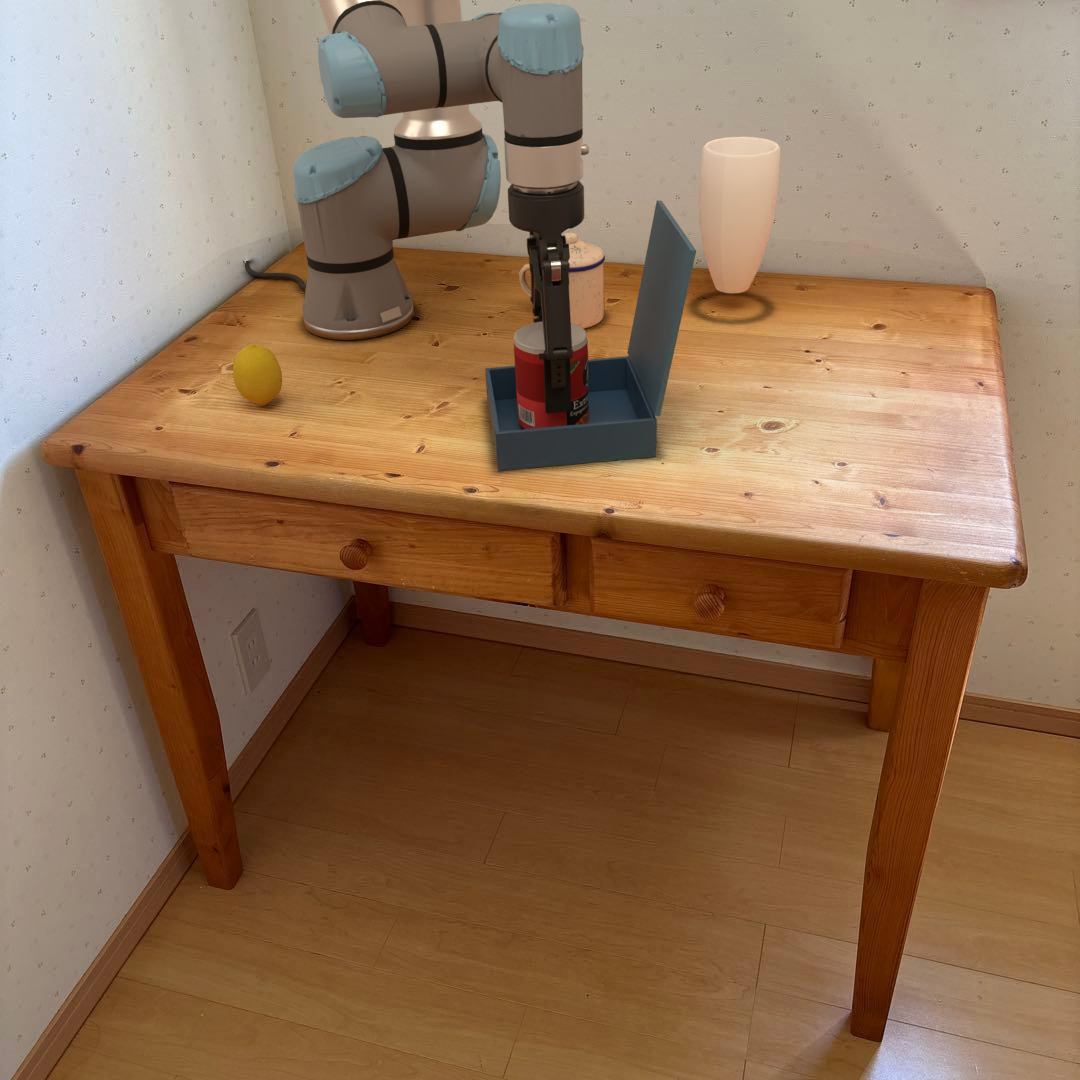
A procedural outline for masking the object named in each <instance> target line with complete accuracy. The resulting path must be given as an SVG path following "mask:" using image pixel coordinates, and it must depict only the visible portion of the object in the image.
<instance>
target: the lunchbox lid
mask: <svg viewBox="0 0 1080 1080" xmlns="http://www.w3.org/2000/svg"><path fill="white" fill-rule="evenodd" d="M696 254H697V249H696V248H695V246H694V245H693V243H692V242H691V240H690V239H689V238H688V236H687V235H686V233H685V232H684V230H683V229H682V228H681V226H680V225H679V223H678V222H677V220H676V219H675V218H674V216H673V215H672V213H671V211H670V210H669V209H668V207H667V206H666V204H665V203H664V202H663V200H659V199H658V200H656V203H655V207H654V213H653V218H652V223H651V229H650V234H649V238H648V244H647V248H646V254H645V259H644V264H643V269H642V275H641V279H640V285H639V289H638V295H637V300H636V305H635V310H634V316H633V321H632V325H631V332H630V337H629V342H628V347H627V356H629V358H630V360H631V363H632V365H633V367H634V369H635V372H636V374H637V376H638V379H639V381H640V383H641V386H642V388H643V390H644V393H645V395H646V397H647V400H648V402H649V404H650V407H651V409H652V411H653V413H654V416H656V417H661V413H662V409H663V408H662V407H663V405H664V400H665V396H666V395H665V394H666V392H667V391H666V390H667V386H668V381H669V377H670V372H671V368H672V363H673V358H674V354H675V349H676V345H677V340H678V336H679V331H680V328H681V327H680V326H681V322H682V318H683V315H684V314H683V313H684V308H685V304H686V300H687V296H688V290H689V286H690V283H691V277H692V274H693V273H692V272H693V267H694V264H695V259H696Z"/></svg>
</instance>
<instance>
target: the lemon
mask: <svg viewBox="0 0 1080 1080" xmlns="http://www.w3.org/2000/svg"><path fill="white" fill-rule="evenodd" d="M232 363H233V364H232V378H233V382H234V385H235V387H236V390H237V391H238V393H239V394H240V395H241V396H242V398H243V399H244V400H246V401H248V402H250V403H253V404H258V405H259V406H260V407H266V406H267V405H268V404H269V402H271V401H273V400H275V399H276V398H277V396H278V395H279V394H280V392H281V389H282V384H283V374H282V373H283V372H282V369H281V366H280V363H279V361H278V358H277V357H276V355H275V354H274V353H273V351H271V350H270V349H269V348H267V347H265V346H263V345H260V344H255V343H254V342H251V343H248V344H247V345H246V346H244V347H242V348H241V349H240V350H239V351H238V352H237V354H236V355H235V356H234V358H233V362H232Z"/></svg>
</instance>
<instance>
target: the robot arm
mask: <svg viewBox="0 0 1080 1080" xmlns="http://www.w3.org/2000/svg"><path fill="white" fill-rule="evenodd" d="M318 4H319V6H320V10H321V12H322V15H323V19H324V21H325V25H326V27H327V30H328V33H329V34H326V35H324V36H322V37H321V38H320V40H319V41H318V47H317V60H318V69H319V76H320V81H321V85H322V88H323V94H324V98H325V101H326V103H327V106H328V108H329V110H330V111H331V112H332V114H334V115H335V116H336V117H338V118H341V119H355V118H356V119H357V118H358V119H359V118H380V117H382V116H388V115H395V114H401V113H402V117H401V118H400V120H399V121H398V123H397V124H396V125H395V126H394V127H393V139H394V145H392V146H388V147H383V146H382V144H381V142H380V141H379V140H378V139H377V138H376V137H373V136H368V135H360V136H356V137H355V136H347V137H342V138H337V139H333V140H329V141H326V142H323V143H320V144H317V145H315V146H313V147H310V148H309V149H306V151H303V153H301V154H300V155H299V157H297V159H296V160H295V162H294V164H293V167H292V168H293V169H292V175H293V184H294V196H293V197H294V199H295V202H296V203H297V208H298V214H299V220H300V225H301V231H302V237H303V244H304V250H305V255H306V260H307V268H308V271H307V272H308V273H307V279H306V283H305V282H304V281H303V279H302V278H301V277H300V276H298V275H296V274H293V273H287V272H263V271H262V272H261V271H256V270H254V269H252V268H251V265H250V260H249V261H246V263H245V266H244V269H245V271H246V272H247V273H248V274H249V275H250V276H252V277H256V278H263V279H264V278H265V279H288V280H292V281H294V282H296V283H297V284H298V285H299V287H300V289H302V290H303V291H304V302H303V305H302V316H303V317H302V318H303V324H304V327H305V329H306V330H307V331H308V332H309V333H311V334H313V335H315V336H318V337H321V338H324V339H330V340H338V341H339V340H340V341H353V340H354V341H355V340H365V339H371V338H377V337H381V336H384V335H388V334H390V333H394V332H395V331H398V330H400V329H402V328H403V327H405V326H407V325H408V324H409V323H410V322H411V321H412V320H413V318H414V316H415V309H414V302H413V298H412V296H411V292H410V291H409V288H408V287H407V284H406V281H405V280H404V278H403V276H402V274H401V272H400V269H399V267H398V265H397V263H396V259H395V255H394V246H393V245H394V243H393V241H395V240H401V239H408V238H414V237H420V236H428V235H433V234H440V233H446V232H452V231H455V232H462V231H465V229H470V228H474V227H479V226H482V225H485V224H487V223H488V222H489V221H490V220H491V219H492V218H493V217H494V214H495V212H496V211H497V208H498V205H499V199H500V193H501V182H502V180H501V179H502V178H501V177H502V173H501V161H500V160H499V151H498V147H497V144H496V142H495V140H494V139H493V138H492V137H491V136H490V135H489V134H486V133H484V132H483V126H482V125H483V124H482V122H481V121H480V120H479V119H478V118H477V117H475V115H474V114H472V112H471V111H470V106H469V105H474V104H475V105H476V104H483V103H492V102H500V103H502V113H503V126H504V127H503V128H504V129H503V131H504V137H503V144H504V163H505V179H506V181H507V182H508V183H509V184H510V185H509V187H508V188H507V204H508V220H509V223H510V224H511V225H512V226H513V227H514V228H515V229H517V230H520V231H523V232H527V233H528V234H529V237H527V238H526V249H527V255H528V263H529V266H530V269H529V271H530V288H531V297H529V300H530V302H531V305H532V306H533V307H532V311H531V312H532V314H533V317H536V318H533V320H532V321H533V323H536V322H542V321H543V332H544V344H545V351H544V353H540V354H538V358H539V360H541V359H543V365H544V389H545V411H546V414H547V413H558V412H569V411H571V375H570V359H572V357H573V350H572V338H571V318H570V298H569V268H570V263H569V262H568V261H569V259H570V252H569V244H566V238H565V235H564V234H563V233H564V232H566V231H567V230H569V229H570V230H571V229H574V228H576V227H578V226H579V225H581V223H582V222H583V221H584V219H585V186H584V184H582V182H581V181H580V180H582V179H583V177H584V160H583V158H582V156H586V155H589V153H590V146H589V145H588V144H586V143H584V142H583V141H584V140H583V135H584V128H583V127H584V126H583V124H584V123H583V121H584V120H583V116H584V115H583V110H584V109H583V59H584V45H583V41H582V28H581V18H580V16H579V13H578V12H577V10H576V8H574V7H573V6H570V5H567V4H556V3H551V2H550V3H545V2H544V3H542V2H541V3H529V4H528V3H526V4H519V5H515V6H511V7H507V8H506V9H504V11H500V12H493V11H492V12H491V11H490V12H483V13H480V14H478V15H476V16H475V17H473V18H471V19H470V20H469V19H468V20H463V19H462V5H461V0H318ZM563 235H564V236H563ZM242 262H243V263H244V261H243V260H242Z"/></svg>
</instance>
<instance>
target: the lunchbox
mask: <svg viewBox="0 0 1080 1080" xmlns="http://www.w3.org/2000/svg"><path fill="white" fill-rule="evenodd" d="M484 372H485V373H484V375H485V386H486V388H485V389H486V401H487V402H486V403H487V408H488V414H489V420H490V427H491V433H492V440H493V448H494V453H495V461H496V466H497V471H498V472H503V471H514V470H515V471H516V470H525V469H535V468H536V469H537V468H547V467H556V466H557V467H559V466H567V465H568V466H569V465H579V464H590V463H603V462H613V461H623V460H624V461H625V460H635V459H646V458H656V457H657V437H658V433H657V432H658V419H657V416H654V413H653V411H652V409H651V407H650V404H649V402H648V400H647V397H646V395H645V393H644V390H643V388H642V386H641V383H640V381H639V379H638V376H637V374H636V372H635V369H634V367H633V365H632V363H631V360H630V358H629V356H628V355H624V356H615V357H603V358H602V357H601V358H600V357H599V358H588V399H589V420H588V423H587V424H579V425H567V426H556V427H545V428H534V429H522V428H521V426H520V424H519V421H518V405H517V390H516V374H515V365H505V366H496V367H495V366H494V367H485V368H484Z"/></svg>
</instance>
